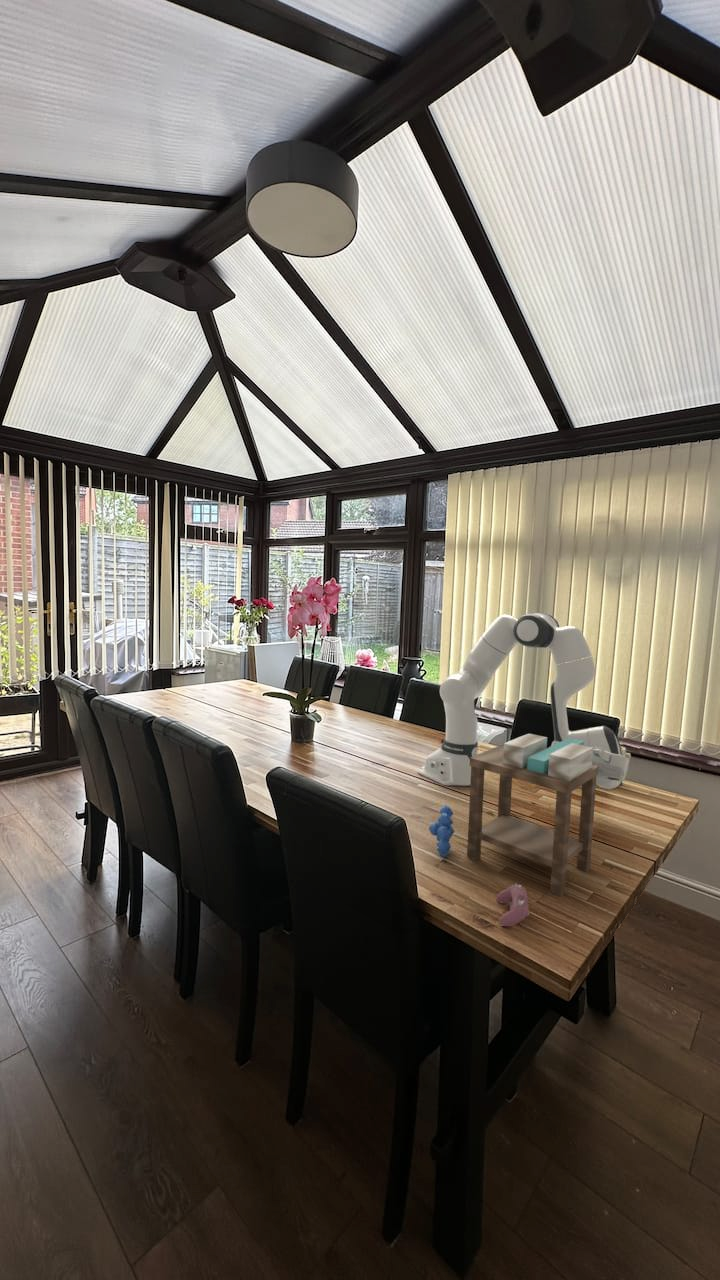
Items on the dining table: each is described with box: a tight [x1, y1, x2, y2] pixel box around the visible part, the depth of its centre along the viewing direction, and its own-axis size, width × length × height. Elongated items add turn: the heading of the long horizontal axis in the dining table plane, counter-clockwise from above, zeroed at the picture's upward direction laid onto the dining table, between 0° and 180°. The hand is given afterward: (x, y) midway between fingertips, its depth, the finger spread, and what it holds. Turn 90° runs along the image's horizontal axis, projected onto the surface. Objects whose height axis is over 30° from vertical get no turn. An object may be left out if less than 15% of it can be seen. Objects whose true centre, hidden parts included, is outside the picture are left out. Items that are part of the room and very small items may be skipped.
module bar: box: [527, 738, 584, 774], centre depth 132 cm, size 4×24×3 cm, turn 136°
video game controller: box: [495, 883, 530, 927], centre depth 111 cm, size 10×5×7 cm, turn 169°
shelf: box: [466, 733, 599, 897], centre depth 131 cm, size 25×18×31 cm
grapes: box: [428, 804, 455, 858], centre depth 137 cm, size 12×7×12 cm, turn 166°
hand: (580, 748), depth 143 cm, fingers open, 8 cm apart
